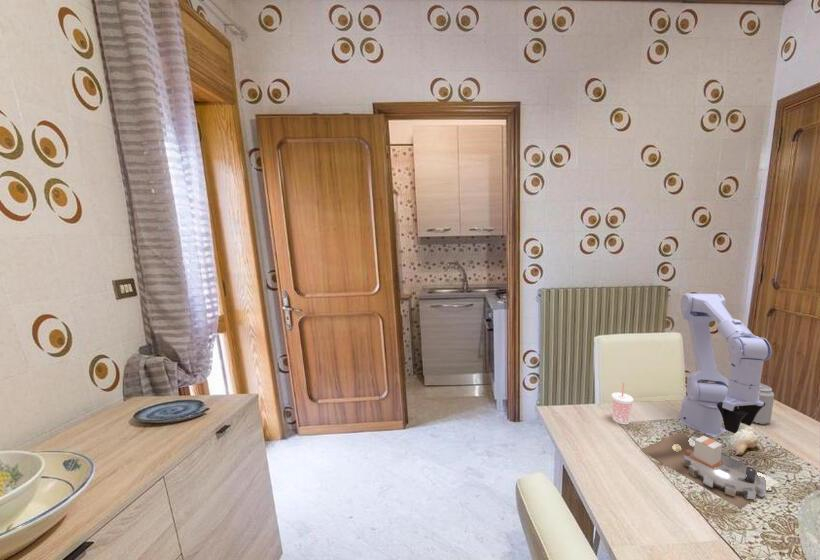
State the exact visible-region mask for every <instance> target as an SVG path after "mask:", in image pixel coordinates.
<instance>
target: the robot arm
mask: <svg viewBox="0 0 820 560" xmlns="http://www.w3.org/2000/svg"><path fill="white" fill-rule="evenodd" d="M726 305H727V301H726V298H725V296H724V295H722V294H721V293H693V292H692V293H691V292H685V293H684V294H683V295H682V296H681V300H680V310H681V314H682V315H681V316H682V318H683V320H686V321H687V322H688V326H689V332H690V333H689V334H690V338H691V345H692V352H693V357H694V365H695V368H696V371H694V372H693V373H690V375H688V376H687V377H686V394H687V395H686V396H684V398H683V399H682V401H681V406H680V407H681V408H680V418H679V420H678V422H679V423H682V424H684V425H686V426H688V427H689V428H691V429H692V428H693V429H694V430H696V431H699V432H701V433H703V434H704V435H707V436H709V437H711V438H716V437H718V436H720V435H722V434H724V433H726V432H729V433H733V434H737V433H738V431H739V429H740V426H741V424H744V425H746V426H749V427H751V425H752V424H753V421H754V419H755V417H756V415H757V413H758V412H759V410H760V409H761V408H762V407H764V406H765V403H764V402H763V401H760V400H759V398H760V391H759V388H760V384H761V380H762V373H763V366H764V361H768V360H770V359H771V356H772V352H773V351H772V346H771V344H770V342H769V341H768V339H766V338H765V337H759V336H758V335H754V334H753V332H752V331H751V330H750V328H748V327H747V326H746V325H745V324H744V323H743V321H741V320H740V319H737V318H733V316H732V315H731V314H730V312H729V311H728V310H727V306H726ZM712 322H715V323H716V324H718V325H717V327H716V328H717V331H718V333H719V334H720V335H721V336H722V338H723V339H724V340H725V341H726V343H727V351H728V361H729V362H730V369H729V377H728V378H726V377H725V376H724V375H722V374H720V373H719V372H718V370H717V368H718V367H717V363H716V357H715V352H714V346H713V341H712V335H711V329H710V323H712ZM722 424H723V426H724V428H723V426H722Z"/></svg>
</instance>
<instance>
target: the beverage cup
mask: <svg viewBox="0 0 820 560" xmlns="http://www.w3.org/2000/svg"><path fill="white" fill-rule="evenodd" d="M621 386H622V387H621V392H613V393H611V399H612V420H613V421H614V422H616V423H618V424H620V425H628V424H630V418H631V412H632V406H633V403H634V398H633V397H632V396H631V395H630V394H627V393H625V392H624V391H625V382H622V384H621Z"/></svg>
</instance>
